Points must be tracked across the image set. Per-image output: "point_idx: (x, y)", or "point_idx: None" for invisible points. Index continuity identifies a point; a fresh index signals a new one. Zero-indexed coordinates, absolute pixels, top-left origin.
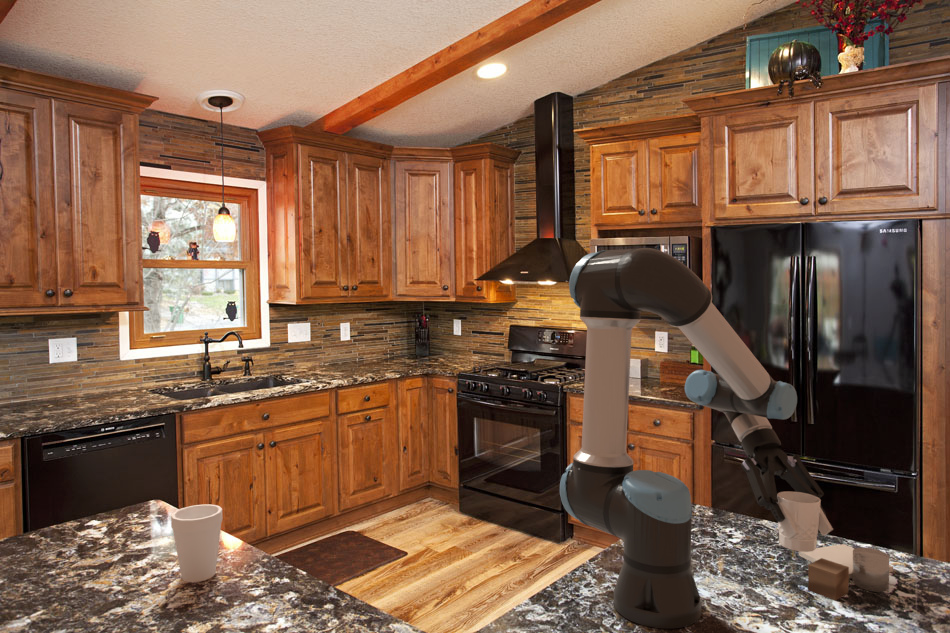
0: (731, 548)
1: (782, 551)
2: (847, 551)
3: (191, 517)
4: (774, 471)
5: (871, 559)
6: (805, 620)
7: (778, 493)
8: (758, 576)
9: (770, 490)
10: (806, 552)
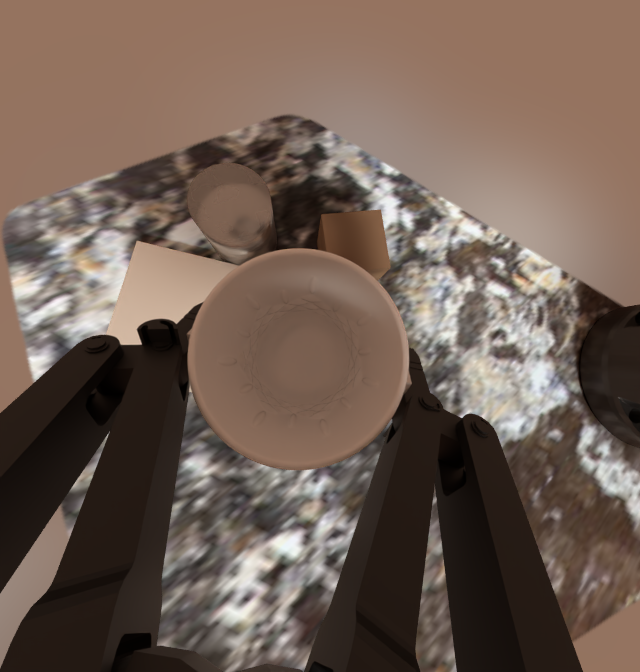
0: (338, 505)
1: None
2: (136, 340)
3: None
4: (353, 648)
5: (263, 183)
6: (466, 227)
7: (346, 454)
8: None
9: (434, 463)
10: None
